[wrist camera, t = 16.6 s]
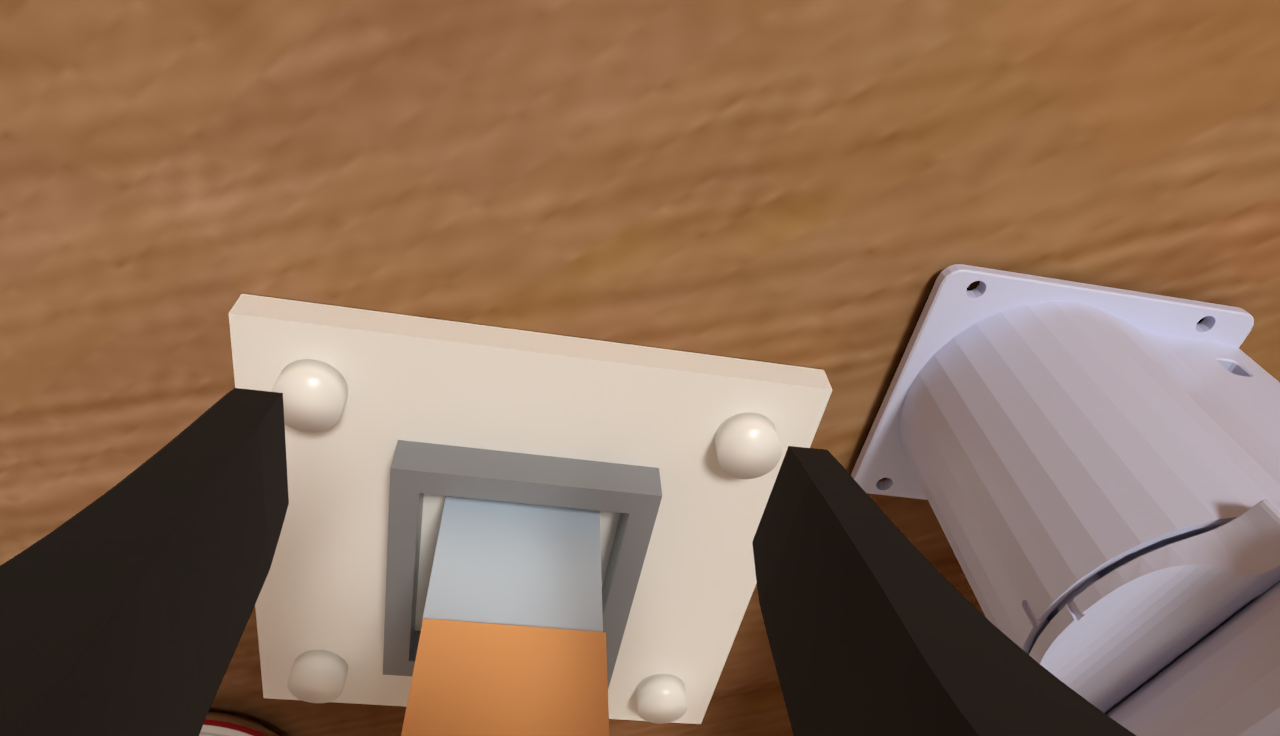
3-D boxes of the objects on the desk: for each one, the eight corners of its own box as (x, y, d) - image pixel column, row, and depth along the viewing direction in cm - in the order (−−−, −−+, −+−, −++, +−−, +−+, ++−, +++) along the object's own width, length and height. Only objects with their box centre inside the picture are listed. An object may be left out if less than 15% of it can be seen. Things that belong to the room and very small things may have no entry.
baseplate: (823, 370, 24) (843, 416, 22) (697, 700, 33) (704, 753, 31) (241, 293, 22) (211, 339, 20) (271, 673, 30) (252, 729, 29)
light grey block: (599, 500, 25) (603, 638, 21) (569, 629, 29) (567, 769, 24) (448, 484, 25) (421, 623, 20) (435, 618, 28) (410, 761, 24)
